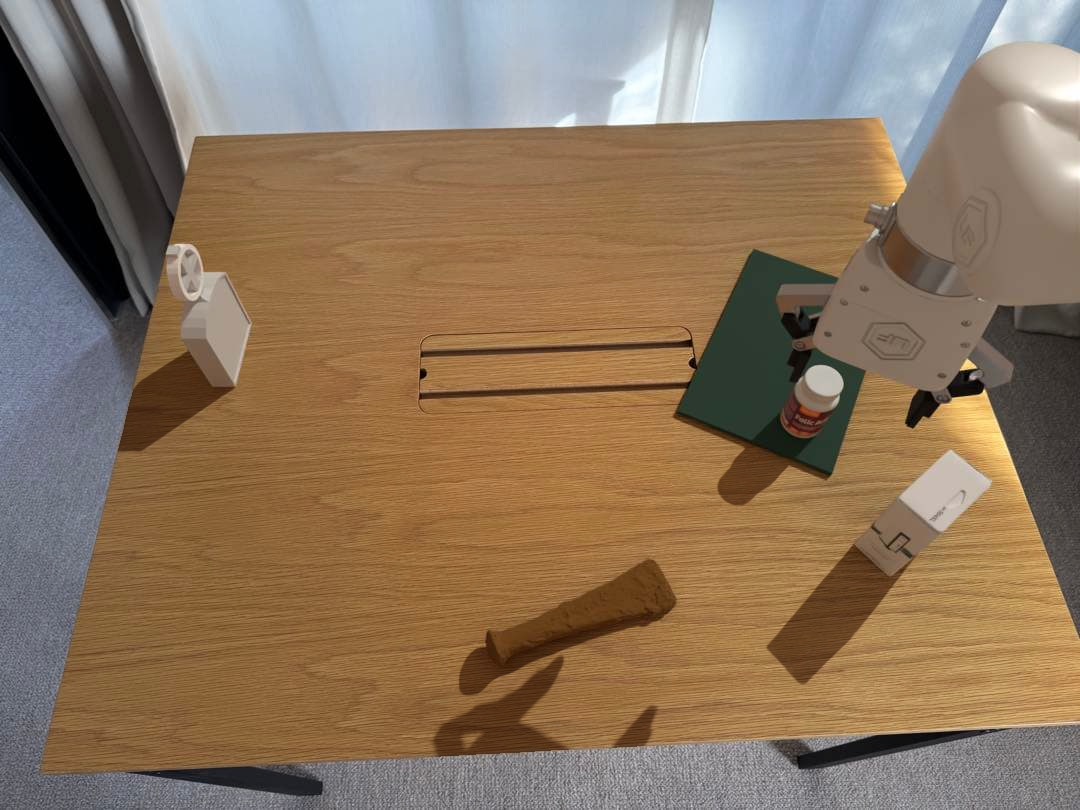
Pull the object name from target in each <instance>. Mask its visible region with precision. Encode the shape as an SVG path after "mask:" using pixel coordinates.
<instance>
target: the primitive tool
mask: <svg viewBox="0 0 1080 810" xmlns="http://www.w3.org/2000/svg"><path fill="white" fill-rule="evenodd" d="M676 605H677V597H676V595H675V594H674V591H673V589H672V587H671V584H670V583H669V581H668V580H667V578H666V576H665V574H664V573H663V571H662V569H661V567H660V566H659V563H657V562H656V560H655V559H653V558H651V559H650V558H648V559H646V560H644V561H642V562H639V563H637V565H635V566H633V567H631V568H630V569H628V570H627V571H625V572H623V573H622V574H620V575H619V576H617V577H615V578H614V579H612V580H610V581H608V582H607V583H604V584H602V585H600V586H598V587H596V588H593V589H591V590H588V591H587V592H586V593H583V594H582V595H580V596H578V597H576V598H572V599H571V600H564V601H563V602H561V603H560V604H559V605H558V606H557V607H555V608H554V609H553V608H552V609H551V610H548V611H545V612H544V613H542V614H541V615H539V616H538V617H535V618H532V619H529V620H527V621H525V622H522V623H520V624H517V625H515V626H512V627H510V628H509V627H508V628H505V629H503V630H491V629H488V630H487V631H486V633H485V639H484V643H485V648H484V649H485V652H486V653H487V655H488V657H489V659H490V662H491V663H492V664H493V665H495V666H497V667H499V668H503V666H504V665H505V663H506V662H507V661H508V659H509V658H510V657H511V656H514V655H517V654H519V653H521V652H523V651H527V650H530V649H534V647H537V646H540V645H543V644H546V643H549V642H551V641H555V640H558V639H561V638H565V637H569V636H571V635H574V634H578V633H580V632H584V631H588V630H591V629H596V628H599V627H607V626H609V625H616V624H617V623H618V622H623V621H626V620H629V619H634V618H639V617H643V616H644V617H645V616H648V615H650V616H651V617H656V616H657V615H658V614H661V613H667V612H669V611H670V609H672V608H674V607H675V606H676Z"/></svg>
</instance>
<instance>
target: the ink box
mask: <svg viewBox="0 0 1080 810" xmlns="http://www.w3.org/2000/svg"><path fill="white" fill-rule="evenodd" d="M992 484H993V480H992V479H991V478H990V477H989V476H987V475H986V474H985V473H984V472H982V471H981V470H979V469H978V468H977V467H976V466H974V464H972V463H971V462H969V460H967V459H965V458H964V457H962V456H961V455H960V454H959V453H957V452H956V451H955V450H953V449H948V450H947V451H946V452H945V453H944V454H942V455H941V456H940V457H939V458H938V459H937V460H935V462H933V463H932V464H931V465H929V467H928V468H927V469H926V470H925V471H923V473H921V474H920V475H919V476H918V477H917V478H916V479H915V480H914V481H913V482H912V483H910V485H909V486H907V488H906V489H904V491H903V492H901V493H900V494H899V496H897V497H896V498H895V499H894V500H893V501H892V503H891V504H890V505H889V506H888V507H887V508H886V509H884V511H883V512H882V513H881V514H880V515H879V516H878V517H877V518H876V519H875V521H874V522H872V523H871V524H870V525H869V527H868V528H867V529H866V530H865V531H864V532H863V533H862V534H861V535H860V536H859V538H857V540H856V541H854V544H853V545H854V546H855V547H856V548H857V549H858V550H859V551H860V552H861V553H862V554H863V555H865V556H866V557H867V558H868V559H869V560H870V561H871V562H872V563H873V564H874V565H875V566H877V568H879V569H880V570H881V571H882V572H883V573H884V574H885V575H886V576H887V577H892V576H894V575H895V574H897V572H898V571H899V570H901V569H902V568H903V567H904V566H905V565H907V564H908V563H909V562H910V561H912V560H913V559H914V558H915V557H916V556H917V555H919V554H920V553H921V552H922V551H923V550H925V549H926V548H928V546H930V545H931V544H932V543H933V542H935V540H937V539H938V538H939V537H940V536H942V535H943V533H945V532H946V531H947V530H948V529H949V528H950V527H951V526H952V525H953V523H955V522H956V521H957V520H958V518H959V517H961V516H962V515H963V514H964V513H965V512H966V511H967V510H968V509H969V508H970V507H971V506H972V505H973V504H974V503H975V502H976V501H977V500H978V499H979V498H980V497H982V495H983V494H984V493H985V492H987V490H989V489H990V488H991V485H992Z"/></svg>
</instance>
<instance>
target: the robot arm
mask: <svg viewBox="0 0 1080 810" xmlns="http://www.w3.org/2000/svg"><path fill="white" fill-rule="evenodd" d="M863 223H865V224H868V225H871V226H873V230H872V231H871V232H870V233H869V235H868V236H867V237H866V238H865V239H864V241H863V242H862V243H861V244H860V246H858V248H857V249H856V250H855V252H854V253H853V255H852V256H851V258H850V259H849V261H848V263H847V264H846V266H845V267H844V269H843V271H842V272H841V274H840V275H839V277H838V278H839V279H838V281H837V282H836V284H783V285H781V287H780V289H779V291H778V294H777V296H776V302H777V305H778V309H779V312H780V313H781V316H782V319H781V323H782V325H783V326H784V327H785V329H786V330H787V332H788V333H789V334H790V336H791V337H792V339H793V343H792V346H793V350H792V352H791V355H790V357H789V360H788V362H787V364H786V365H789V366H791V367H794V369H793V372H792V374H791V377H790V379H789V381H790V382H792V383H795V382H797V383H798V381H799V379H800V377H801V375H802V373H803V371H804V369H805V367H806V365H807V363H808V361H809V359H810V357H811V354H812V352H813V349H814V348H818V349H819V350H820V351H821V352H823V353H824V354H826V355H828V356H830V357H832V358H835V359H837V360H840V361H842V362H845V363H847V364H850V365H853V366H855V367H858V368H861V369H863V370H866V372H869V373H871V374H874V375H876V376H880V377H883V378H885V379H888V380H891V381H894V382H896V383H898V384H901V385H903V386H904V385H905V386H908V387H911V388H913V389H917V390H916V392H915V393H914V395H913V396H912V397H911V401H910V405H909V407H908V410H907V413H906V417H905V421H904V424H905V425H906V427H907V428H910V429H915V427H916V426H917V425H918V424H919V423H920V421H921V420H922V419H923V417H924V418H926V419H930V418H931V417H932V416H933V415H934V413H935V412H936V411H937V409H938V408H939V407H940V405H947V404H950V403H952V401H953V399H955V398H965V397H972V396H979V395H981V394H983V392H984V391H985V390H987V389H989V390H991V389H993V388H996V387H999V386H1003V385H1005V384H1009V382H1011V381H1012V378H1013V372H1014V367H1015V366H1014V364H1013V363H1012V362H1011V361H1010V360H1008V359H1007V358H1006V357H1005V356H1004V355H1003V354H1001V353H1000V352H999V351H998V350H997V349H996V348H995V347H993V346H992V345H991V344H990V343H989V342H988V341H987V340H985V339H984V338H983V337H982V335H983V334H984V333H985V330H986V329H987V327H988V325H989V323H990V321H991V320H992V318H993V316H994V314H995V312H996V310H997V308H998V306H1004V307H1028V306H1029V307H1030V306H1044V305H1063V304H1064V305H1065V304H1080V52H1078V51H1075V50H1073V49H1072V48H1068V47H1065V46H1062V45H1059V44H1053V43H1050V42H1044V41H1036V40H1022V41H1014V42H1009V43H1004V44H1000V45H997V46H995V47H993V48H991V49H989V50H988V51H987V50H986V51H985V52H984V53H982V54H980V56H979V57H978V58H976V59H975V60H974V61H973V62H972V63H971V64H970V65H969V66H968V68H966V71H965V72H964V74H963V75H962V77H961V79H960V80H959V82H958V84H957V86H956V88H955V90H954V92H953V93H952V96H951V98H950V99H949V101H948V104H947V106H946V108H945V109H944V112H943V114H942V115H941V117H940V119H939V121H938V123H937V125H936V127H935V129H934V131H933V133H932V135H931V136H930V139H929V141H928V142H927V145H926V146H925V149H924V150H923V152H922V154H921V156H920V159H919V160H918V162H917V164H916V166H915V168H914V170H913V172H912V174H911V176H910V178H909V180H908V182H907V185H906V186H905V188H904V190H903V192H901V193H900V195H899V197H898V199H897V201H896V202H895V201H892V202H891V204H890V205H888V204H884V203H883V205H880V204H878V203H875V202H871V204H870V206H869V208H868V210H867V212H866V215H865V216H864V219H863ZM801 306H824V309H823V311H822V312H820V313H816V314H813V315H810V316H807V314H806V313H805V311H804V310H803V308H802V307H801ZM967 360H968V361H969V362H971V363H972V364H973V365H974V366H975V367H976V368H967V369H962V367H963V366H964V365H965V363H966V361H967ZM961 369H962V370H961Z"/></svg>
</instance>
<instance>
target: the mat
mask: <svg viewBox="0 0 1080 810" xmlns="http://www.w3.org/2000/svg"><path fill="white" fill-rule="evenodd" d="M838 279H839V277H837V276H835V275H833V274H829V273H826V272H823V271H820V270H817V269H814V268H811V267H809V266H805V265H803V264H799V263H796V262H793V261H791V260H788V259H786V258H782V257H780V256H776V255H773V254H770V253H768V252H764V251H762V250H759V249H756V248H753V249H752V251H751V254H750V255H749V257H748V260H747V262H746V264H745V266H744V268H743V271H742V273H741V274H740V277H739V279H738V281H737V283H736V285H735V288H734V289H733V292H732V293H731V296H730V298H729V301H728V302H727V304H726V306H725V308H724V311H723V312H722V315H721V317H720V319H719V322H718V323H717V326H716V328H715V330H714V332H713V334H712V336H711V338H710V341H709V343H708V345H707V347H706V349H705V351H704V354H703V355H702V358H701V360H700V361H699V364H698V366H697V369H696V370H695V372H694V375H693V377H692V379H691V381H690V383H689V385H688V387H687V390H686V392H685V394H684V396H683V398H682V401H681V402H680V405H679V406H678V409H677V411H676V414H678V415H679V416H682V417H684V418H687V419H690V420H691V421H694V422H698V423H699V424H702V425H705V426H707V427H709V428H712V429H714V430H716V431H719V432H722V433H724V434H726V435H730V436H732V437H734V438H737V439H739V440H742V441H744V442H746V443H749V444H752V445H754V446H756V447H759V448H761V449H764V450H767V451H768V452H771V453H773V454H776V455H779V456H780V457H783V458H786V459H788V460H791V461H793V462H795V463H798V464H800V465H804V466H806V467H808V468H810V469H813V470H815V471H818V472H821V473H823V474H825V475H827V476H832V474H833V473H834V470H835V467H836V464H837V461H838V458H839V455H840V451H841V448H842V446H843V442H844V439H845V436H846V433H847V429H848V427H849V424H850V421H851V417H852V414H853V412H854V409H855V406H856V402H857V399H858V396H859V394H860V390H861V388H862V385H863V381H864V379H865V375H866V373H867V371H866V370H863V369H861V368H858V367H855V366H853V365H850V364H847V363H845V362H842V361H840V360H837V359H835V358H832V357H830V356H828V355H826V354H824V353H823V352H821V351H820V350H819V349H818V348H814V349H813V352H812V354H811V357H810V359H809V361H808V363H807V365H806V367H805V369H804V371H803V373H802V375H801V377H800V378H802V377H803V376H804V375H805V373H806V372H807V370H808V369H809V368H811V367H813V366H816V365H825V366H829V367H831V368H833V369H835V370H836V371H837V372H838V373H839V374H840V375H841V377H842V379H843V389H842V391H841V393H840V394H839V402H838V404H837V406H836V407H835V409H834V410H833V412H832V414H831V415H830V417H829V418H828V420H827V421H826V423H825V424H824V426H823V427H822V429H821V430H820V432H819V433H818V434H817V435H815V436H813V437H811V438H799V437H796V436H793V435H791V434H790V433H789V432H787V431H786V430H785V428H784V427H783V425H782V423H781V418H780V416H781V412H782V409H783V407H784V406H785V404H786V402H787V400H788V398H789V396H790V394H791V392H792V391H793V389H794V387H795V385H796V383H797V382H795V383H792V382H790V381H789V379H790V377H791V374H792V372H793V369H794V367H791V366H789V365H786V364H787V362H788V360H789V357H790V355H791V352H792V350H793V346H792V343H793V339H792V337H791V336H790V334H789V333H788V332H787V330H786V329H785V327H784V326H783V325H782V323H781V319H782V316H781V313H780V312H779V309H778V305H777V302H776V296H777V294H778V291H779V289H780V287H781V285H783V284H836V282H837V281H838ZM801 307H802V308H803V310H804V311H805V313H806V314H807V316H810V315H813V314H816V313H820V312H822V311H823V309H824V306H801Z"/></svg>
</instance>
